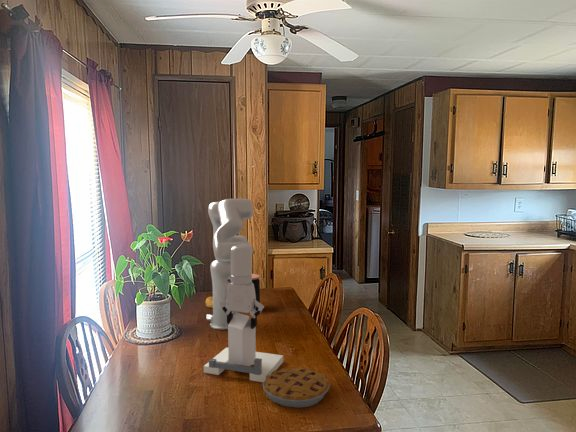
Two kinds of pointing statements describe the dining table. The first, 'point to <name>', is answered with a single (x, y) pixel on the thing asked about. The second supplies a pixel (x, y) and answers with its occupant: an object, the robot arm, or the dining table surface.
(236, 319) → the milk carton
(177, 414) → the dining table surface
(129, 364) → the dining table surface
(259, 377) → the notched board
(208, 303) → the bagel
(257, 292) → the coffee jar
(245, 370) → the hook rail
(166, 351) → the dining table surface
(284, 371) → the pie
